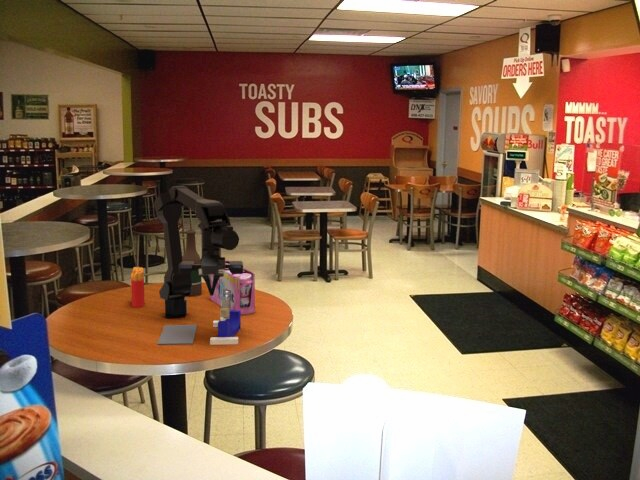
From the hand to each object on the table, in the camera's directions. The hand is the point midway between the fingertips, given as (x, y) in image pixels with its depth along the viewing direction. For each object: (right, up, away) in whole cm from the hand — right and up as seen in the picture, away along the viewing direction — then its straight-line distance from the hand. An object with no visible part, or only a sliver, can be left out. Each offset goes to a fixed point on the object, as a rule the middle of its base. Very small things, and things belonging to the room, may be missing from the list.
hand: (211, 295), depth 182 cm
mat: (-10, -12, 0) cm, 16 cm away
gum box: (+1, -7, +30) cm, 31 cm away
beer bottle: (-15, -4, +43) cm, 46 cm away
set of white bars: (+3, -11, +5) cm, 13 cm away
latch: (+3, -10, +6) cm, 12 cm away
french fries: (-31, -6, +28) cm, 42 cm away
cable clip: (+4, -12, +2) cm, 13 cm away
